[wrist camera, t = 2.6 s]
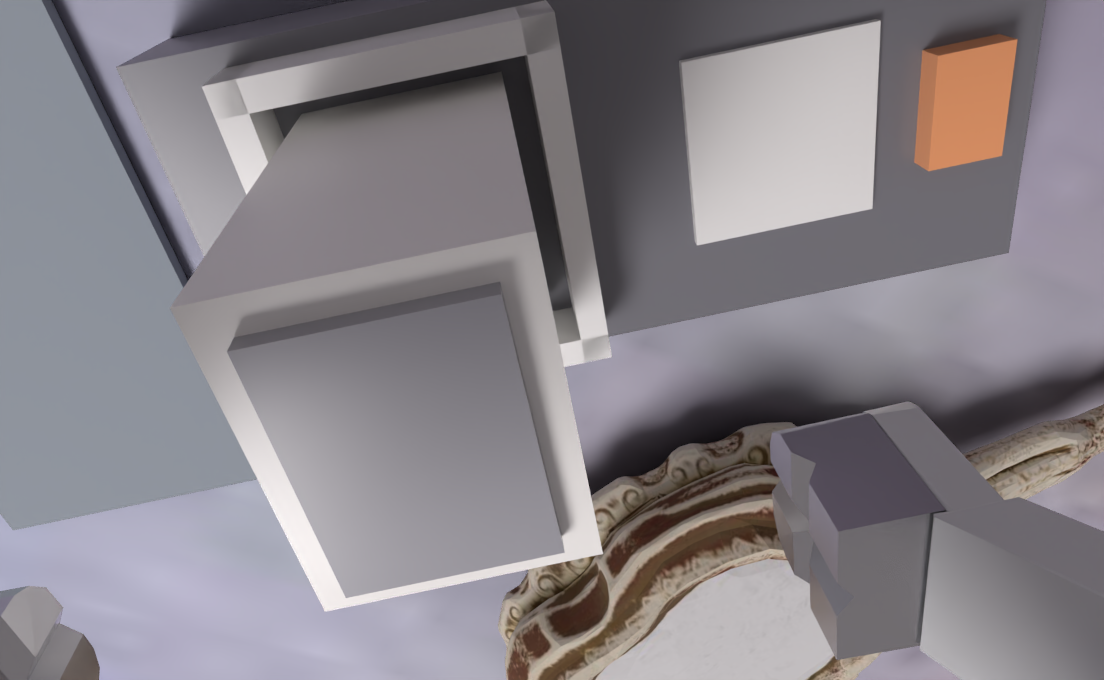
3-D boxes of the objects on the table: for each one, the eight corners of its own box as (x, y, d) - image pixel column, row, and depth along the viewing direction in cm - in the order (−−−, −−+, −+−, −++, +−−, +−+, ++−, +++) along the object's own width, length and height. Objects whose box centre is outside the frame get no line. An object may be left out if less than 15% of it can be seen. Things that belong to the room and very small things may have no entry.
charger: (301, 113, 15) (160, 321, 8) (501, 71, 15) (538, 242, 8) (377, 328, 18) (322, 630, 11) (547, 293, 18) (605, 570, 11)
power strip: (168, 38, 17) (82, 86, 13) (974, -133, 17) (1126, -136, 13) (296, 342, 21) (260, 445, 17) (941, 206, 21) (1050, 280, 17)
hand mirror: (1432, 460, 25) (595, 835, 26) (1259, 346, 29) (549, 671, 30) (1635, 206, 18) (464, 742, 19) (1366, 104, 22) (428, 544, 23)
